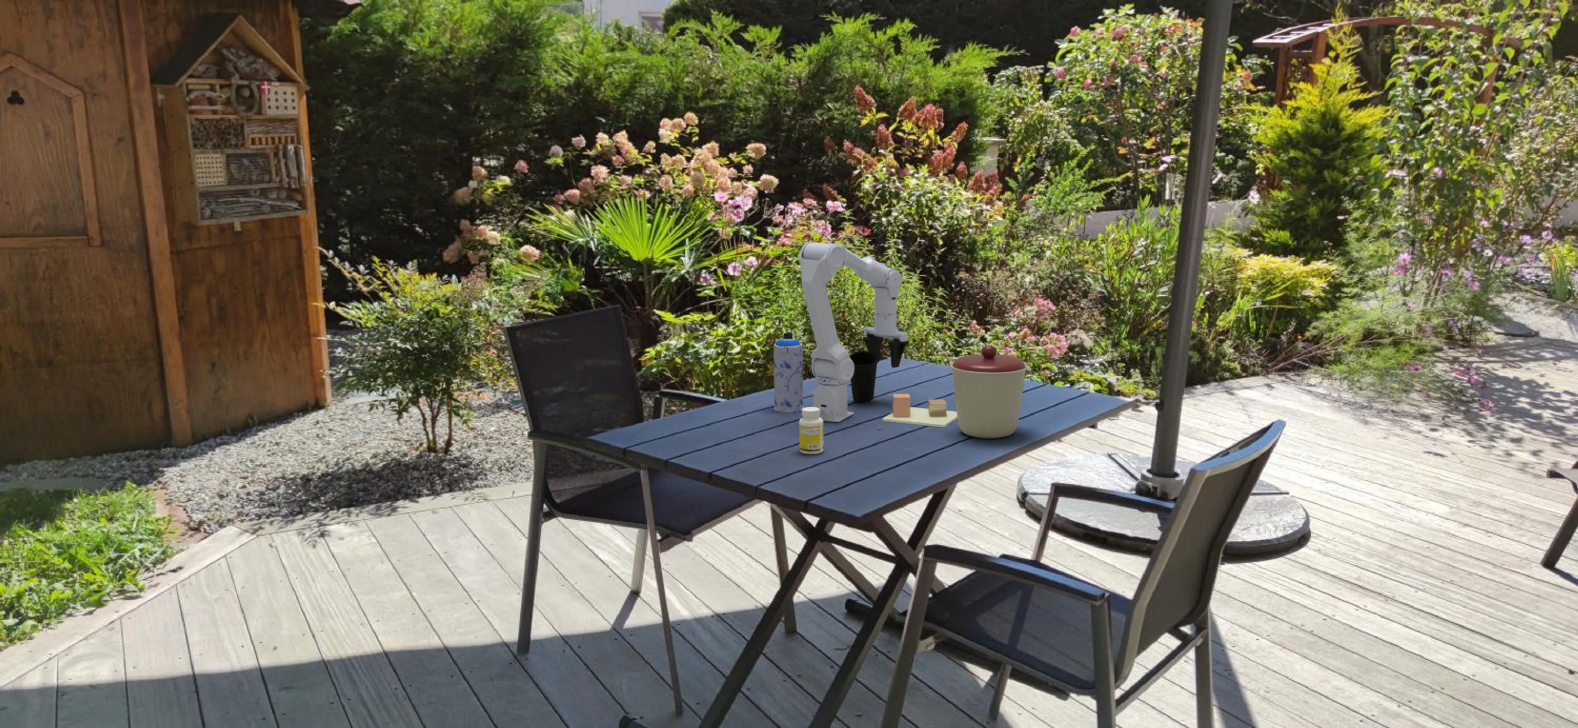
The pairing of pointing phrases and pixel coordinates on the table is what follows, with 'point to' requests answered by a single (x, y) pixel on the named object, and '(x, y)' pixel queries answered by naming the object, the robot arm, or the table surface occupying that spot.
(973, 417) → the canister
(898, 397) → the terracotta brick
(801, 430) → the supplement bottle
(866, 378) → the cup
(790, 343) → the aerosol can
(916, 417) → the plate
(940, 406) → the beech brick
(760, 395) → the table surface
